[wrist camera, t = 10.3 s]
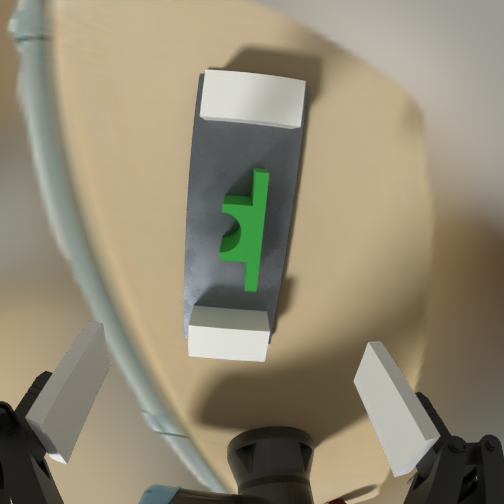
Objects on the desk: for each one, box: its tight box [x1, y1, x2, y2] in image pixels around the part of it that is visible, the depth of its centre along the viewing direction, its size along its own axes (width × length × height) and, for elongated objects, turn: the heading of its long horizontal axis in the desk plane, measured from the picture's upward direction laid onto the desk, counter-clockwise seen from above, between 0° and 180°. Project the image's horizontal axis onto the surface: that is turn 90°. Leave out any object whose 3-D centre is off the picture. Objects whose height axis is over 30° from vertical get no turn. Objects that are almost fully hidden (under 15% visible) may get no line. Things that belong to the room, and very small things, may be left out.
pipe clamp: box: [219, 168, 269, 292], centre depth 27 cm, size 10×4×4 cm, turn 175°
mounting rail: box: [184, 70, 308, 362], centre depth 27 cm, size 28×10×5 cm, turn 174°
